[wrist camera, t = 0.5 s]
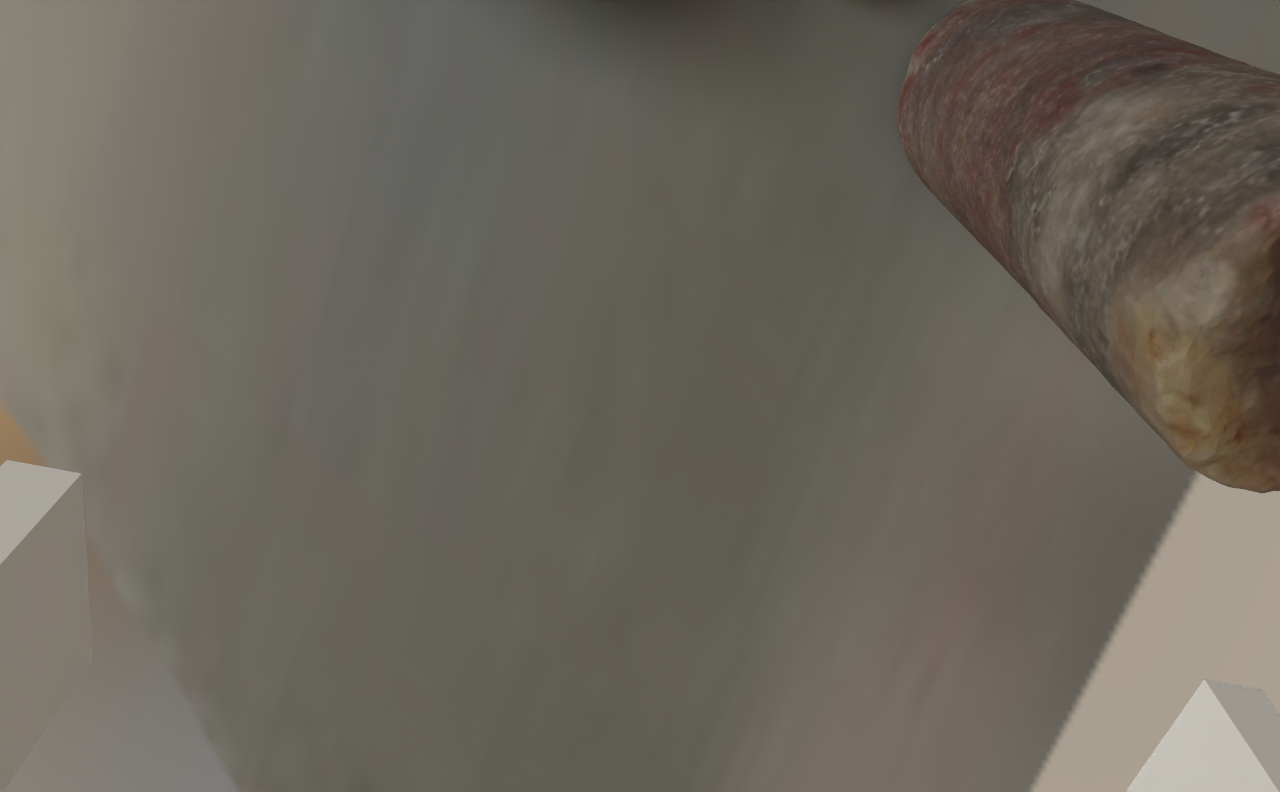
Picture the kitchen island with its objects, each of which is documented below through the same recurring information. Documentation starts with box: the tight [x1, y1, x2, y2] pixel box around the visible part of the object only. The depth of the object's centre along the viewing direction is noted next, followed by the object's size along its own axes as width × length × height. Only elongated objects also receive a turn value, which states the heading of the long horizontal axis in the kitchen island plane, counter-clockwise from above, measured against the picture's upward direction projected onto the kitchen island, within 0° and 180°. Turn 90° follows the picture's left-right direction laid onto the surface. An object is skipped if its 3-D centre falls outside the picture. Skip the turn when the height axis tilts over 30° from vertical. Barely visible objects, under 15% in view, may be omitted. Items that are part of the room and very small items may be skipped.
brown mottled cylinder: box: [897, 0, 1280, 493], centre depth 26 cm, size 8×7×20 cm
